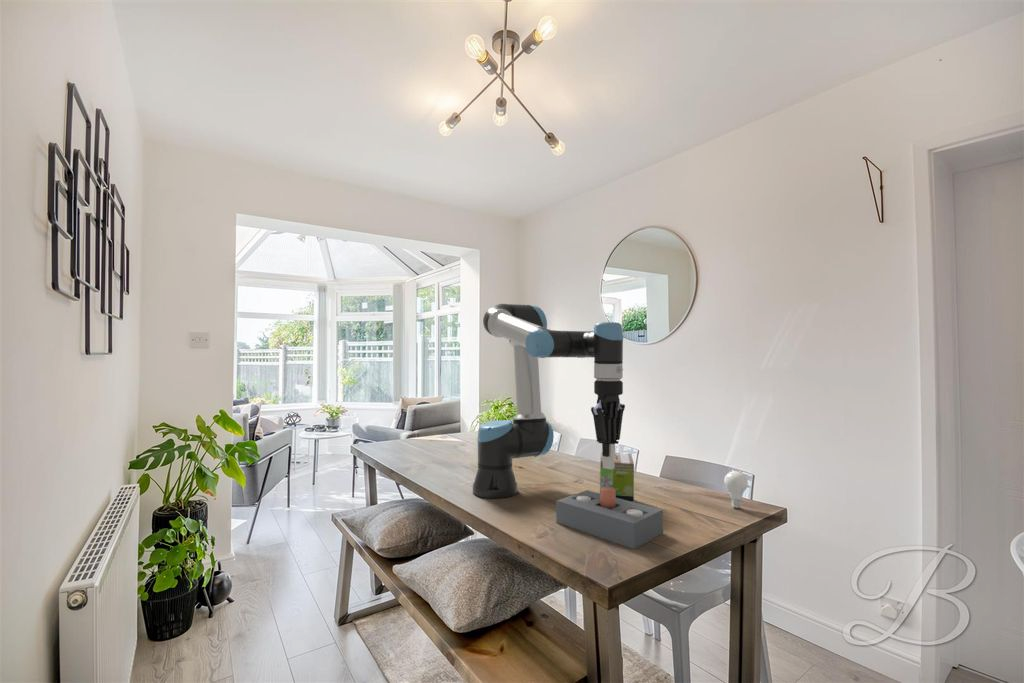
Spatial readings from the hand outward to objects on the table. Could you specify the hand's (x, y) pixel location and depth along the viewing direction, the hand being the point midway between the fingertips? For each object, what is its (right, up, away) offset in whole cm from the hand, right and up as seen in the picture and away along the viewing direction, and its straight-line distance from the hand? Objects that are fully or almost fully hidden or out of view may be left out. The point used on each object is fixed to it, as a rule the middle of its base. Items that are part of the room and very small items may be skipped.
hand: (608, 468), depth 121 cm
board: (0, -16, -1) cm, 16 cm away
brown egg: (0, -11, 0) cm, 11 cm away
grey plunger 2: (+5, -15, -6) cm, 17 cm away
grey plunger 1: (-6, -15, +5) cm, 17 cm away
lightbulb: (+42, -17, +15) cm, 47 cm away
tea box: (+6, -17, +18) cm, 26 cm away
